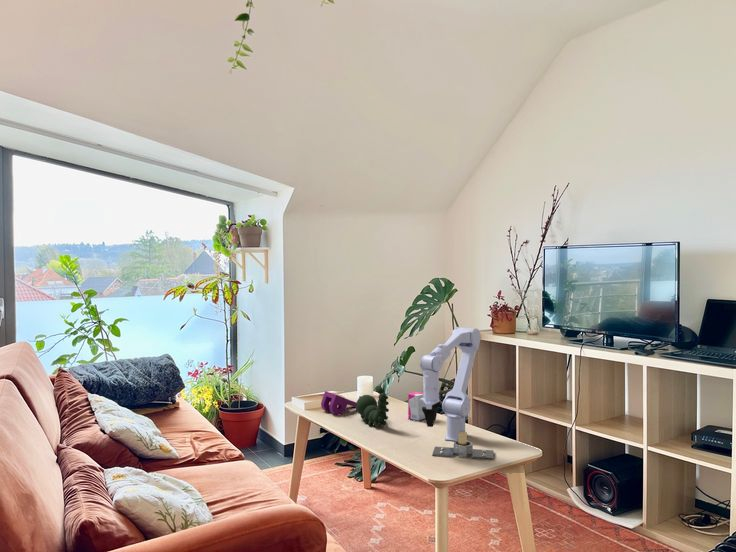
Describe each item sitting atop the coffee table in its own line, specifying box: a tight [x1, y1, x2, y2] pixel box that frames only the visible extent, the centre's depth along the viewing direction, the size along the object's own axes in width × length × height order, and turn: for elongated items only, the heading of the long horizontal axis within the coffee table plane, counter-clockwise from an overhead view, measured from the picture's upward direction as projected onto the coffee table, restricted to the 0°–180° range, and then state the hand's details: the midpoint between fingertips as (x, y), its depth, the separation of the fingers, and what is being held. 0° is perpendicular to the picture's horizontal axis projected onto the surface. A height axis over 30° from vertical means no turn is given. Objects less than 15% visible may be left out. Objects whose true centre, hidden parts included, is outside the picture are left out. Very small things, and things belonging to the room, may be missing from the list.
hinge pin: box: [458, 430, 468, 446], centre depth 206 cm, size 3×3×8 cm
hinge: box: [432, 440, 495, 461], centre depth 206 cm, size 21×8×4 cm, turn 77°
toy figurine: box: [355, 385, 390, 427], centre depth 246 cm, size 9×19×25 cm
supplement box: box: [407, 391, 426, 422], centre depth 251 cm, size 6×6×12 cm
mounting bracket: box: [320, 391, 357, 416], centre depth 266 cm, size 9×8×18 cm
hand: (431, 423), depth 212 cm, fingers open, 7 cm apart
